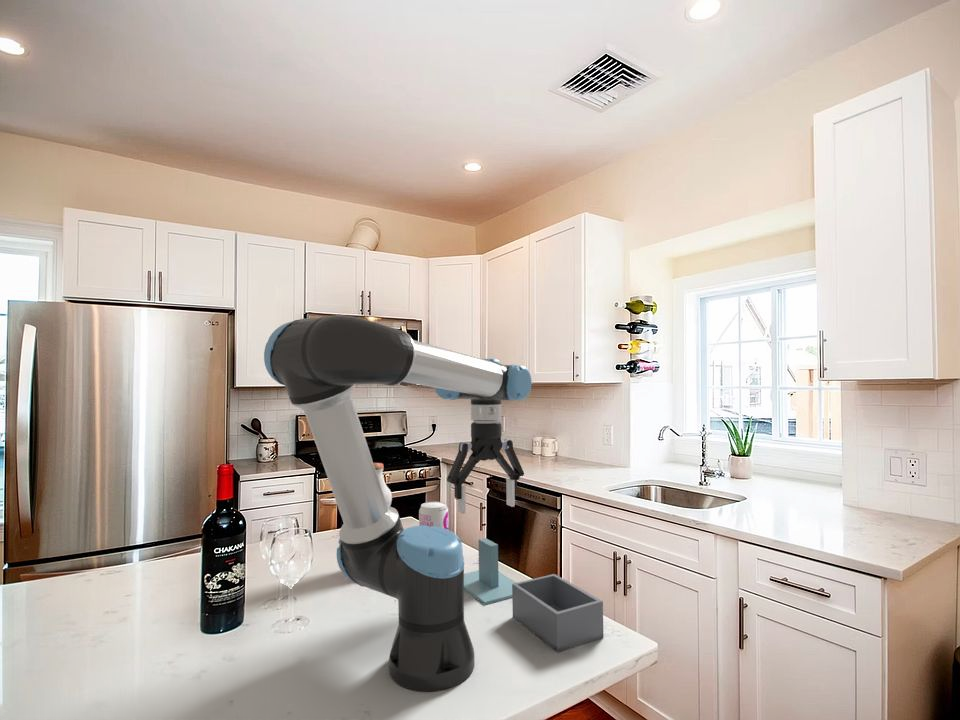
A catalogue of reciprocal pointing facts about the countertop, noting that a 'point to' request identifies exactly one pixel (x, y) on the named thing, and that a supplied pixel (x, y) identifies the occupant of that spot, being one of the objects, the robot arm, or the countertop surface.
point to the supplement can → (434, 515)
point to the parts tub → (557, 611)
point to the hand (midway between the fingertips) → (486, 509)
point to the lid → (488, 576)
